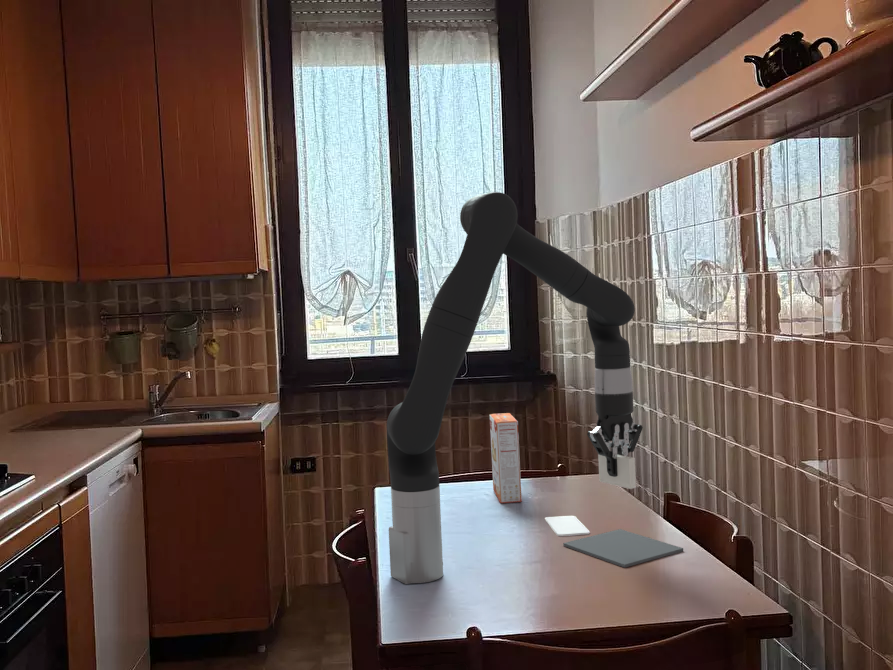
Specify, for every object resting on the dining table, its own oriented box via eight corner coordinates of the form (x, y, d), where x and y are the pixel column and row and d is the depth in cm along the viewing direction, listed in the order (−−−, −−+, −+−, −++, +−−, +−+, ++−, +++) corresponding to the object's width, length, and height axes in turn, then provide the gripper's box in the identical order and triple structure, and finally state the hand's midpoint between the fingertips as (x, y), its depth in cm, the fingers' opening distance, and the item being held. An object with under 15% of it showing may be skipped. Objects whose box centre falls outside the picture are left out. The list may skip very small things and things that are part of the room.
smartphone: (574, 515, 201) (590, 532, 186) (574, 518, 201) (591, 535, 186) (543, 517, 201) (557, 534, 186) (543, 520, 201) (557, 537, 186)
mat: (624, 567, 163) (624, 564, 163) (563, 545, 179) (563, 543, 179) (683, 551, 172) (683, 548, 172) (620, 531, 187) (620, 528, 187)
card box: (630, 488, 169) (628, 458, 169) (599, 481, 177) (598, 452, 177) (636, 487, 170) (635, 457, 170) (605, 480, 178) (604, 451, 178)
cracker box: (491, 491, 229) (488, 413, 228) (514, 489, 230) (511, 412, 229) (498, 504, 216) (495, 421, 214) (522, 502, 216) (519, 420, 215)
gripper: (600, 395, 166) (604, 483, 167) (651, 387, 173) (655, 472, 174) (575, 392, 172) (579, 477, 173) (625, 385, 179) (629, 467, 180)
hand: (617, 474), depth 174 cm, fingers closed on card box, 1 cm apart
